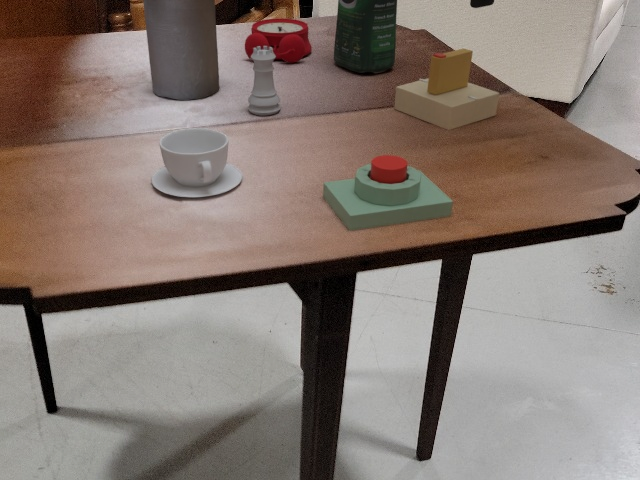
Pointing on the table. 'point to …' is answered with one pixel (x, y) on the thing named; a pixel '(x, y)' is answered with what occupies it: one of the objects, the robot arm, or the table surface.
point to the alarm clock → (280, 38)
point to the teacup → (195, 164)
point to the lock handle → (449, 71)
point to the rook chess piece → (263, 84)
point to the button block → (385, 200)
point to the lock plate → (446, 104)
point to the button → (388, 169)
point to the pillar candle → (182, 47)
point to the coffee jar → (366, 35)
